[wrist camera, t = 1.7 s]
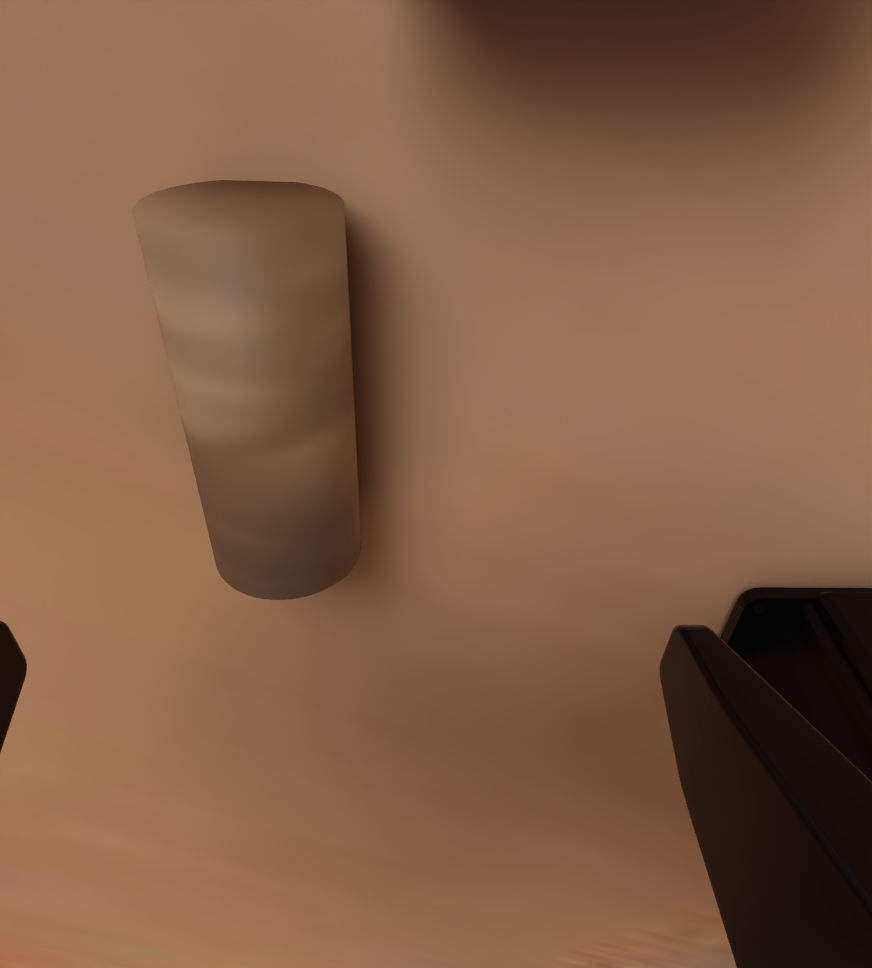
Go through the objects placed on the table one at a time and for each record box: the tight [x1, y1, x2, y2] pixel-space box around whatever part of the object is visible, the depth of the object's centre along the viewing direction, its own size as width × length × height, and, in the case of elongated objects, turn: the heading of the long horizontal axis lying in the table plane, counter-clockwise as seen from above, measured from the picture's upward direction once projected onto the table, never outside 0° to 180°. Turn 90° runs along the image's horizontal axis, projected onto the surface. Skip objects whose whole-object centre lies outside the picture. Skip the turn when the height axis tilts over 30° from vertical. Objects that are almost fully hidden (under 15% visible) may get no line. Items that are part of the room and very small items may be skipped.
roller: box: [133, 180, 361, 600], centre depth 14 cm, size 8×4×4 cm
